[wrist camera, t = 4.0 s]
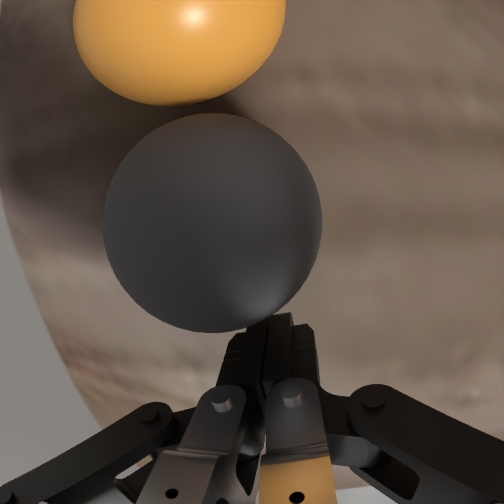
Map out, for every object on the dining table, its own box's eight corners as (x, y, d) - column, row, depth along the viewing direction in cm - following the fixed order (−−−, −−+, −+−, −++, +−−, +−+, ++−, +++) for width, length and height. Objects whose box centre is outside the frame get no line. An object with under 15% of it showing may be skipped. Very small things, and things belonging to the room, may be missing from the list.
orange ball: (123, 6, 9) (33, -48, 4) (266, -38, 8) (248, -136, 3) (145, 133, 11) (37, 136, 5) (303, 94, 10) (319, 43, 4)
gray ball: (178, 349, 11) (173, 205, 13) (346, 323, 10) (311, 166, 12) (45, 326, 6) (78, 122, 8) (336, 277, 4) (271, 39, 6)
